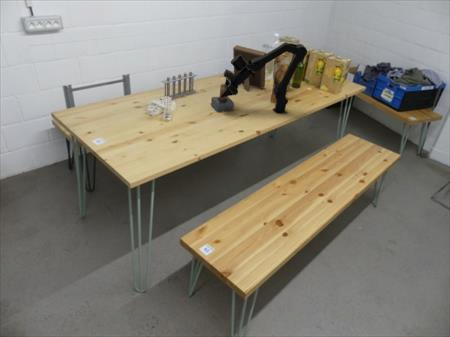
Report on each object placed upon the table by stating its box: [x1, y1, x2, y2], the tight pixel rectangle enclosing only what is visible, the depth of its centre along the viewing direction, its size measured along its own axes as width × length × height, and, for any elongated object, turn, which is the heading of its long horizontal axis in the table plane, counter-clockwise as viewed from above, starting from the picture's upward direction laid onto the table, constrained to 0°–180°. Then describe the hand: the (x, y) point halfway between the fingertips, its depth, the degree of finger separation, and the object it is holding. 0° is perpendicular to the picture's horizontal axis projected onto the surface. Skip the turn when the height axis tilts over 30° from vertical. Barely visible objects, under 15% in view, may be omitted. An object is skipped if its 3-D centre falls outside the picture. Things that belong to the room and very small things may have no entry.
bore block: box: [210, 96, 235, 113], centre depth 209 cm, size 10×10×5 cm
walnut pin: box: [219, 83, 228, 102], centre depth 207 cm, size 4×4×13 cm
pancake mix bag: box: [270, 52, 291, 104], centre depth 222 cm, size 7×19×28 cm, turn 137°
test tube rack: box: [160, 70, 198, 100], centre depth 218 cm, size 25×4×13 cm, turn 138°
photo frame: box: [232, 45, 267, 92], centre depth 238 cm, size 15×22×25 cm
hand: (220, 93), depth 206 cm, fingers open, 9 cm apart
